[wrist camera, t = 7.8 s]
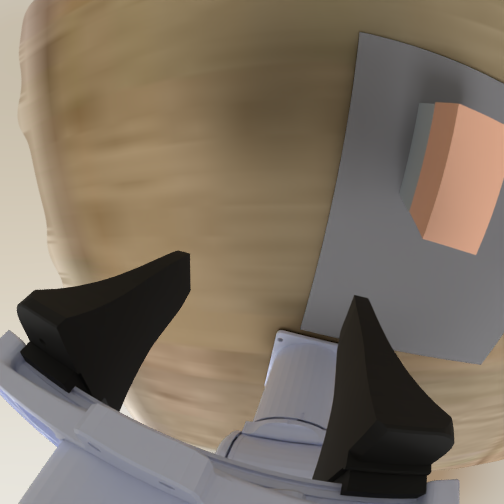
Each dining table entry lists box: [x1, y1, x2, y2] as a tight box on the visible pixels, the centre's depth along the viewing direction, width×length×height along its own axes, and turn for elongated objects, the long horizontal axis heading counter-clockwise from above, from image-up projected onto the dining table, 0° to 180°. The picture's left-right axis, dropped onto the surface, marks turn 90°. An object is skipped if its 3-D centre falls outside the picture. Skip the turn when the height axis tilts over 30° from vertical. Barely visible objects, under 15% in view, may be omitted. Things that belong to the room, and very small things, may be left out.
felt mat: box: [300, 32, 504, 365], centre depth 18 cm, size 24×20×1 cm
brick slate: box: [399, 103, 435, 213], centre depth 15 cm, size 6×3×4 cm, turn 174°
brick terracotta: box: [409, 102, 504, 255], centre depth 12 cm, size 6×3×4 cm, turn 174°
